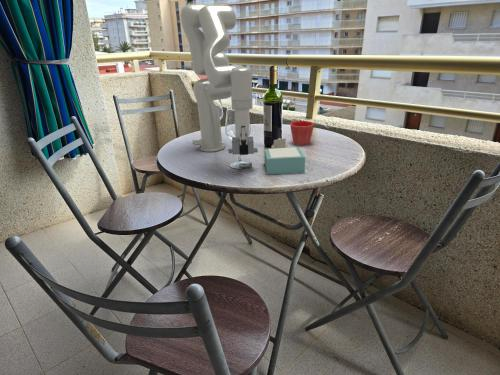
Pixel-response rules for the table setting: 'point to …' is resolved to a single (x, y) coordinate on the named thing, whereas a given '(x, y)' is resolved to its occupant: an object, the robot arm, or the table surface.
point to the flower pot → (301, 132)
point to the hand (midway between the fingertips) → (243, 151)
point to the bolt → (245, 165)
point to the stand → (284, 160)
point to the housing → (235, 146)
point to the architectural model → (279, 143)
